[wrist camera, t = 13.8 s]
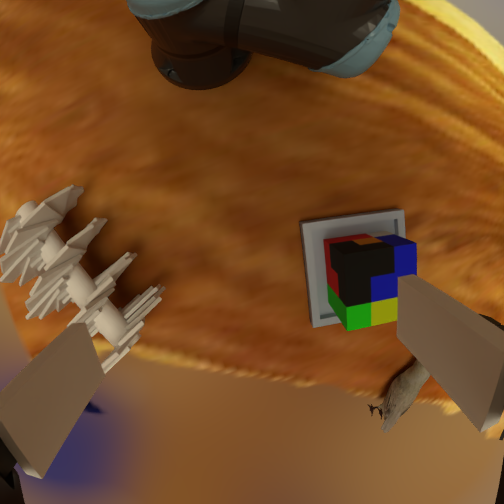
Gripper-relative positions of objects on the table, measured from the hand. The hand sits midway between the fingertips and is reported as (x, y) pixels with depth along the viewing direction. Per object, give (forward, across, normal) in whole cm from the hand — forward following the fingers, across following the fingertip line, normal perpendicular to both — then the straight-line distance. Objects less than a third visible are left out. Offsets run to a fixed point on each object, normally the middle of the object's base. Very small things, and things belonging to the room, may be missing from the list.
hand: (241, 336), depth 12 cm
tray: (+35, +16, -9) cm, 39 cm away
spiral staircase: (+35, -24, -2) cm, 42 cm away
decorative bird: (+35, +25, -34) cm, 55 cm away
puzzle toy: (+34, +16, -9) cm, 39 cm away
